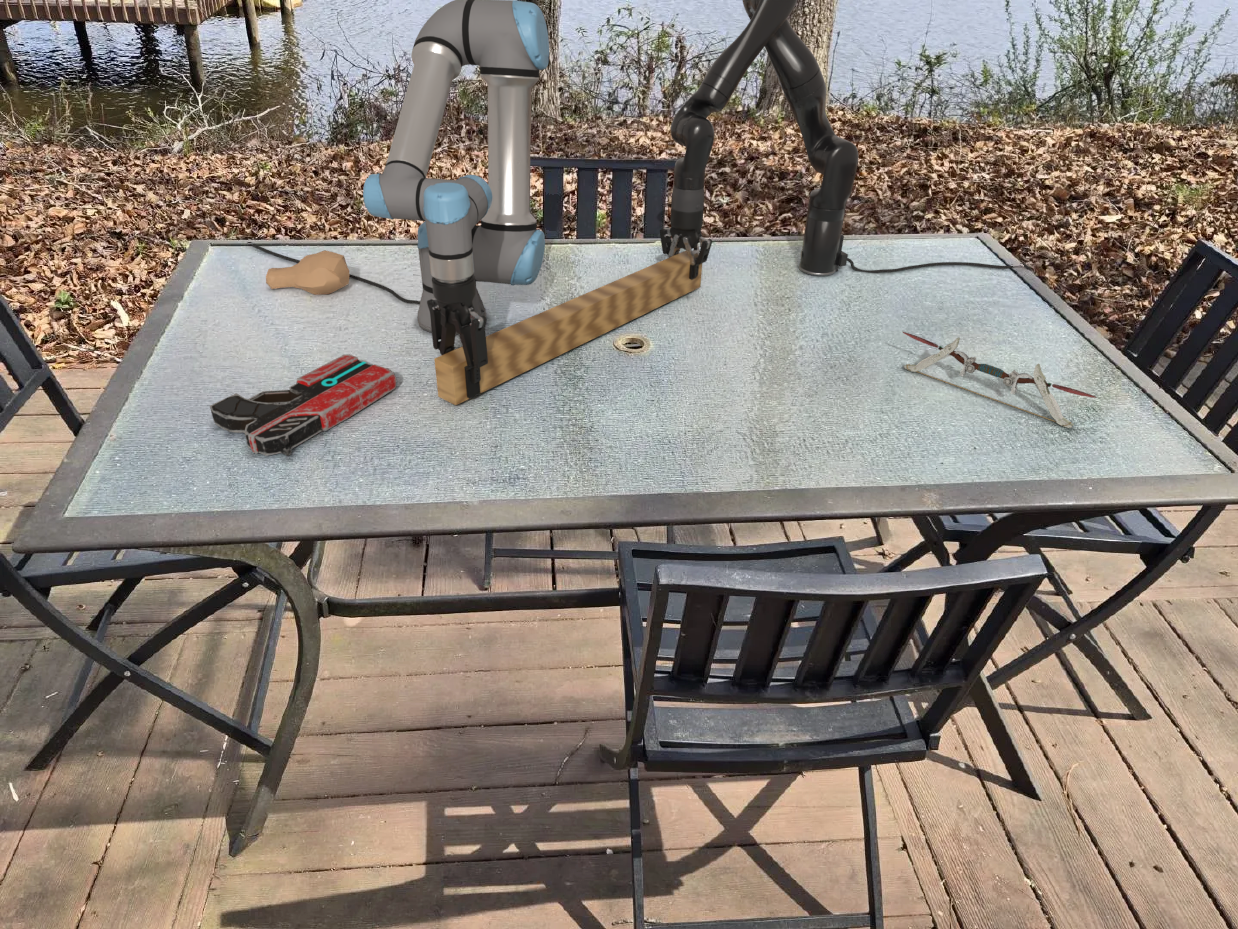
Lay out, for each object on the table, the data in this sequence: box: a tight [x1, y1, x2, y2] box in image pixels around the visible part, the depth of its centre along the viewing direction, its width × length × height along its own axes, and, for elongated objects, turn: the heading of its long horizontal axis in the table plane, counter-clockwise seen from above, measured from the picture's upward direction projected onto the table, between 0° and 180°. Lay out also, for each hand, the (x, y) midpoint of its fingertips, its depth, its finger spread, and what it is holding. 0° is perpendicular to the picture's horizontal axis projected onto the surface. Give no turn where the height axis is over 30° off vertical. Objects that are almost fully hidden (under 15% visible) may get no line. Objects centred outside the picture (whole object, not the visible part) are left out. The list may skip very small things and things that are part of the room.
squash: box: [265, 250, 350, 296], centre depth 208 cm, size 11×20×9 cm, turn 90°
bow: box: [901, 330, 1097, 429], centre depth 171 cm, size 39×2×10 cm, turn 47°
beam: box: [434, 250, 703, 406], centre depth 188 cm, size 79×5×8 cm, turn 140°
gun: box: [209, 353, 398, 457], centre depth 162 cm, size 4×31×19 cm
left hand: (463, 390), depth 167 cm, fingers closed on beam, 5 cm apart
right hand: (683, 275), depth 211 cm, fingers closed on beam, 5 cm apart
